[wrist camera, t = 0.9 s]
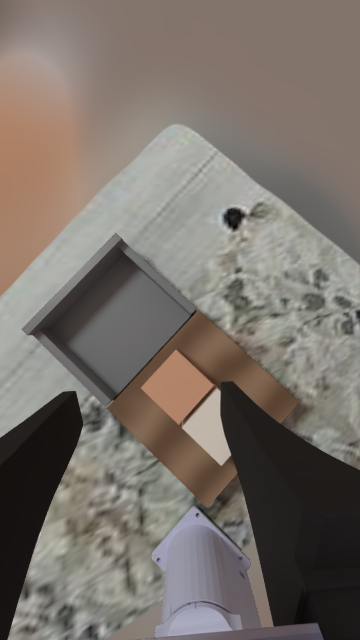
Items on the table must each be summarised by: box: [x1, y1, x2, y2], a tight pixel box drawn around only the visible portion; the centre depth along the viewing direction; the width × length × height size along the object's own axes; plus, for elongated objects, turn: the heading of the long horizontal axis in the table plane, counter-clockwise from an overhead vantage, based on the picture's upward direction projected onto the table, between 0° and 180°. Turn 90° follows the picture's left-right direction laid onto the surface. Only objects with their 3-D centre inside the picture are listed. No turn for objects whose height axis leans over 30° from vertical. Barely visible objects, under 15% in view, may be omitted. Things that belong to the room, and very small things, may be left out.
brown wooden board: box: [107, 310, 299, 508], centre depth 29 cm, size 16×16×3 cm
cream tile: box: [182, 384, 231, 466], centre depth 25 cm, size 6×6×3 cm
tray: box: [22, 233, 197, 406], centre depth 29 cm, size 13×16×4 cm
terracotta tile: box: [141, 349, 214, 425], centre depth 26 cm, size 6×6×3 cm
